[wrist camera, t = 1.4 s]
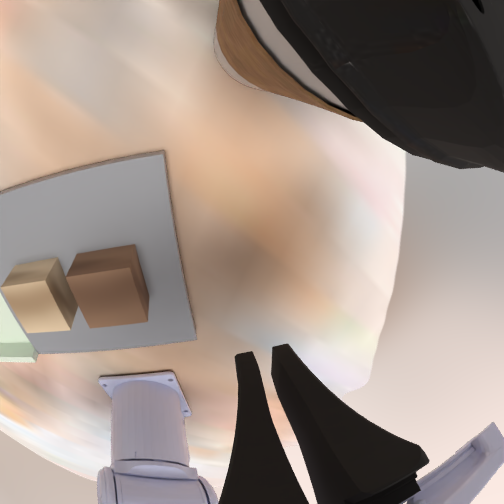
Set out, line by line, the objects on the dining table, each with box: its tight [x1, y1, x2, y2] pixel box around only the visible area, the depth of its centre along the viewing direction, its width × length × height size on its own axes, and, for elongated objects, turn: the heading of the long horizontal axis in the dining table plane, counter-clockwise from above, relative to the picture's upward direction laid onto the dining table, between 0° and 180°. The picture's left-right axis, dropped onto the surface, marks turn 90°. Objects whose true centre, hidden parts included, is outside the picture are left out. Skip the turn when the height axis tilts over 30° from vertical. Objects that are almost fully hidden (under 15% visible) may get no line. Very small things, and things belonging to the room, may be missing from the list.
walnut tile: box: [66, 244, 149, 329], centre depth 15 cm, size 4×4×2 cm
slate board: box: [0, 150, 197, 354], centre depth 16 cm, size 14×15×1 cm
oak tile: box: [1, 257, 78, 333], centre depth 14 cm, size 4×4×2 cm
